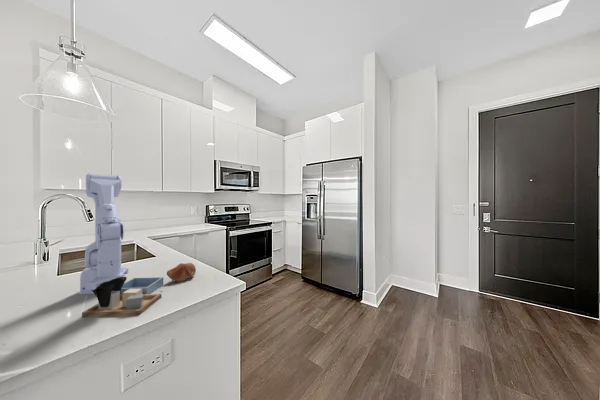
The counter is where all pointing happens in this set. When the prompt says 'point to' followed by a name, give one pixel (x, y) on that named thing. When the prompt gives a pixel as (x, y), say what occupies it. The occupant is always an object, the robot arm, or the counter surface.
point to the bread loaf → (182, 272)
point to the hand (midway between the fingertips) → (109, 303)
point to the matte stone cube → (135, 301)
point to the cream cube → (129, 293)
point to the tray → (123, 308)
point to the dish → (143, 284)
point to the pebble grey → (112, 301)
